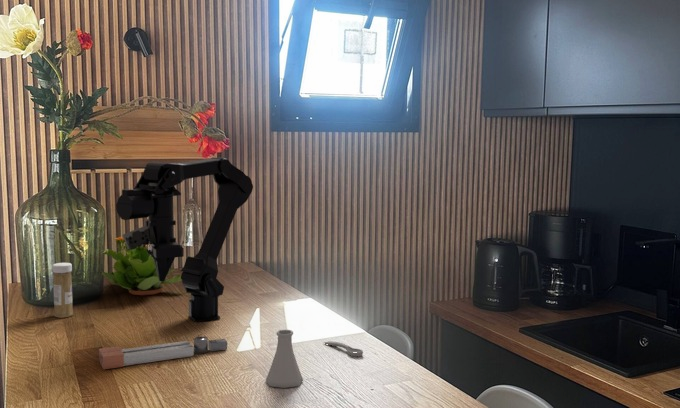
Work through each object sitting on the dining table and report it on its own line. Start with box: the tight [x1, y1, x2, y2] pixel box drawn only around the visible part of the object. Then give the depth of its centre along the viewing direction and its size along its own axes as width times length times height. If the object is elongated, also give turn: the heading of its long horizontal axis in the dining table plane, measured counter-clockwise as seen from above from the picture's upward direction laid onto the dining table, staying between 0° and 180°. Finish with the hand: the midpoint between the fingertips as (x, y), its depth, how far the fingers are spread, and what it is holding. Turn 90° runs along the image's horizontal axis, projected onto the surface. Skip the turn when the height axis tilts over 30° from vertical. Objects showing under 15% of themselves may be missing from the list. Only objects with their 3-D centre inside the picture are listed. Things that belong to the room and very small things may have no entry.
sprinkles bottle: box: [51, 262, 74, 319], centre depth 168 cm, size 5×5×14 cm
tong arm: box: [98, 336, 209, 364], centre depth 140 cm, size 22×4×3 cm, turn 117°
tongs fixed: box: [100, 338, 228, 370], centre depth 140 cm, size 26×4×3 cm, turn 117°
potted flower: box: [100, 236, 182, 296], centre depth 193 cm, size 25×24×18 cm
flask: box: [265, 329, 304, 389], centre depth 128 cm, size 7×7×10 cm
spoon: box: [323, 340, 364, 357], centre depth 148 cm, size 3×12×2 cm, turn 40°
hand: (161, 280), depth 158 cm, fingers closed
